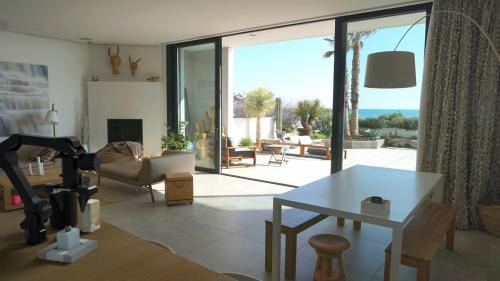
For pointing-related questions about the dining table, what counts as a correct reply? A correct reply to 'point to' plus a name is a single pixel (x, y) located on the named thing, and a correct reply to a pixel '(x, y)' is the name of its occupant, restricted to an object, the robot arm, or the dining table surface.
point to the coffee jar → (64, 211)
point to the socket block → (67, 256)
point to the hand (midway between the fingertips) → (72, 211)
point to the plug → (68, 239)
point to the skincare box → (91, 216)
